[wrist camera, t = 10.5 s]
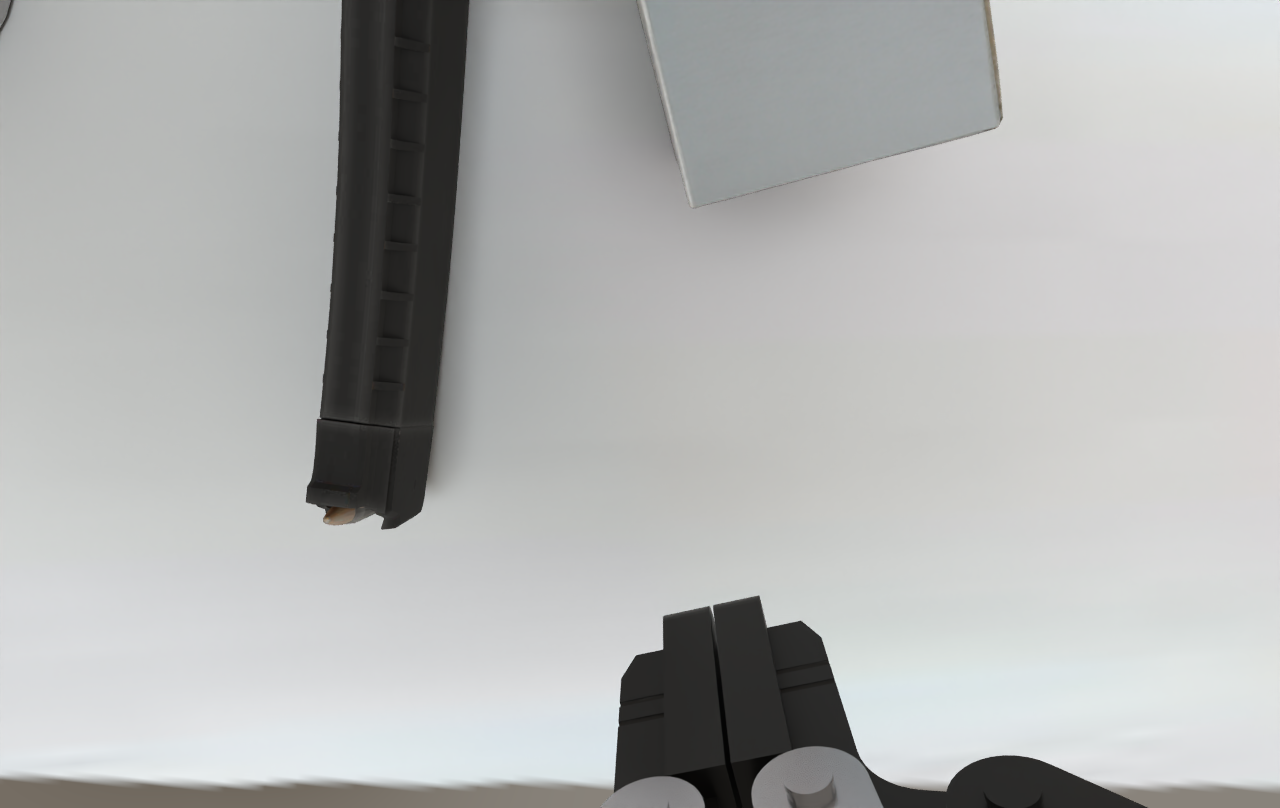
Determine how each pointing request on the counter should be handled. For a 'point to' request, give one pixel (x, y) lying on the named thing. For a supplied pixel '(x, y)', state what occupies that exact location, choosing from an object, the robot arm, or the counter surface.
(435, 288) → the magazine
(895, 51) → the hard drive box
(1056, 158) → the counter surface
